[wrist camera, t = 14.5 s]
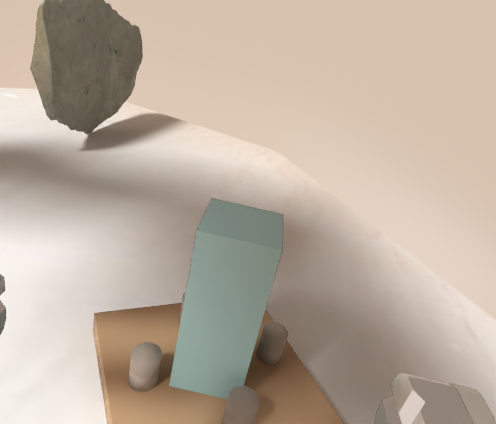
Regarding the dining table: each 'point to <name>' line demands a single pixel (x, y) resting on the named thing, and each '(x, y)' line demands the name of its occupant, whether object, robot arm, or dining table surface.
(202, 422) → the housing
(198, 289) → the block
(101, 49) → the rock
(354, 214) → the dining table surface
